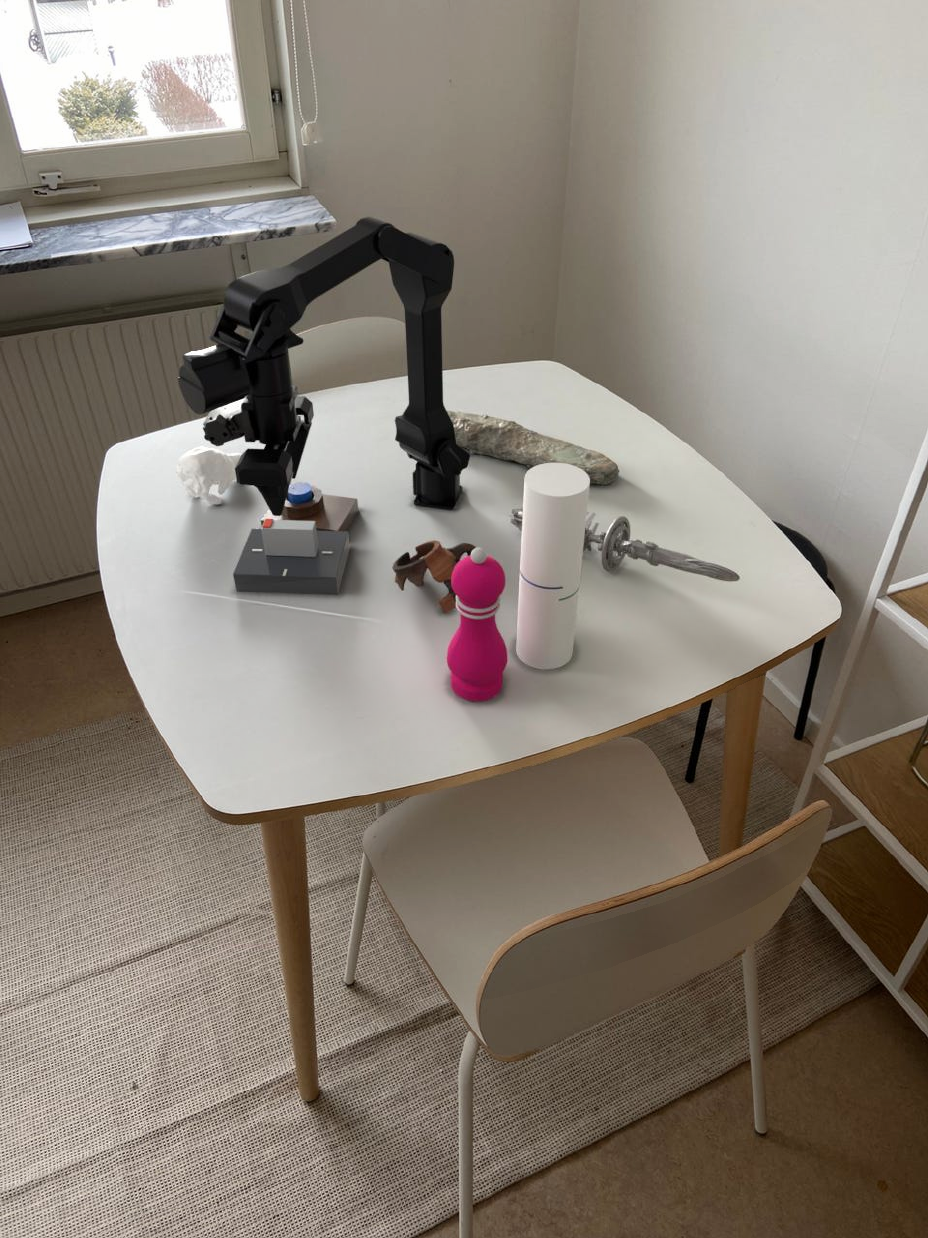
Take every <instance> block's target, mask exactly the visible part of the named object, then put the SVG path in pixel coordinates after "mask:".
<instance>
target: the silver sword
mask: <svg viewBox="0 0 928 1238" xmlns="http://www.w3.org/2000/svg"><path fill="white" fill-rule="evenodd" d="M511 514H512V515H508V517H510V518H511V519H510V523H511V524H512V525H513V526H515V527H516V528H517V529H518V530H519V531H521V532H522V519H523V506H522V507H521V508H520V507H519V508H513V509H511ZM589 514H590V511H588V510H587V515H586V517H587V516H588V515H589ZM596 515H597V513H596V512H592V513H591V514H590V516H589V517H588V518H586V525H585V535H584V545H583V553H584V552H585V551H586V550H587V551H588V552H592V550H593V549H592V542H593V543H595V544H597V550H598V551H600V552H601V565H602V568H603V569H604V570H605V571H606V572H608V573H611V572H614V571H616V570H617V569H618V568H619V566H620V565H621V564H622V562H623V560H624V558H625V557H626V555H627V557H628V558H631V559H633V560H635V561H636V560H638V559H640V560H644V561H646V562H647V563H648V564H649V565H650V566H654V567H658V566H659V565H661V566H666V567H669V568H671V569H675V570H679V571H683V572H686V573H691V574H695V575H700V576H703V577H704V576H705V577H708V578H710V579H713V580H716V581H717V580H718V581H722V582H738V581H740V579H741V577H740V575H739V574H738V573H737V572H735V570H734V571H733V570H732V569H731V568H728V567H726V566H723V565H720V564H717V563H712V562H709V561H708V562H707V561H705V560H701V559H699V558H697V557H694V556H692V555H689V554H687V553H686V554H685V553H681V552H678V551H675V550H671V549H667V548H663V547H659V545H658V544H657V543H654V542H652V541H645V543H644V542H643V541H642V540H640V539H635V540H631V523H630V521H629V518H627V517H626V516H624V515H621V516H618V517H617V518H615V519H614V520H613V521H612V523H611V524H610V526H609V528H608V529H607V531H606V532H605V531H601V532H600V533H599V534H596V532H597V529H598V527H599V525H600V522H595V523H594V525H592V522H593V520H594V518H595V517H596ZM591 526H592V528H591V529H590V527H591Z"/></svg>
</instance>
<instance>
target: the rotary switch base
mask: <svg viewBox="0 0 928 1238" xmlns="http://www.w3.org/2000/svg"><path fill="white" fill-rule="evenodd" d="M349 534H350V533H349V531H346V532H344V531H317V539H318V547H319V548H318V551H317V555H316V557H302V556H272V555H266V554H265V548H264V542H263V536H262V530H261V528H251V530H250V532H249V533H248V537H247V540H246V542H245V544H244V547H243V548H242V551H241V554H240V556H239V558H238V561H237V563H236V565H235V568H234V571H233V573H232V576H233V581H234V587H235V591H236V592H241V593H242V592H243V593H246V592H249V593H271V594H273V593H275V594H299V595H300V594H301V595H307V594H308V595H333V596H338V595H339V592H340V589H341V584H342V580H343V576H344V572H345V570H346V565H347V561H348V557H349V553H350V549H351V547H350V546H351V545H350V536H349Z"/></svg>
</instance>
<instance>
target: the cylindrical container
mask: <svg viewBox="0 0 928 1238" xmlns="http://www.w3.org/2000/svg"><path fill="white" fill-rule="evenodd" d="M523 479H524V480H523V499H522V500H523V501H522V507H523V519H522V531H521V541H520V544H521V545H520V558H519V559H520V560H519V561H520V562H519V563H520V564H519V580H518V581H519V583H518V586H519V587H518V600H517V601H518V604H517V620H516V621H517V623H516V624H517V625H516V644H515V650H516V652H515V653H516V655H517V657H518V658H519V660H520V661H521V662H522V663H523V664H525V665H526V666H529V667H531V668H534V669H538V670H555V669H559V668H561V667H563V666H565V665H566V664H568V663H569V662H570V660H571V659H572V657H573V654H574V653H573V652H574V642H575V633H576V622H577V612H578V603H579V593H580V583H581V573H582V563H583V555H584V552H583V545H584V535H585V525H586V521H587V516H588V515H587V511H588V506H589V505H588V504H589V496H590V495H589V493H590V486H591V485H590V484H591V483H590V478H589V476H588V474H587V473H586V472H585V471H583V470H582V469H580V468H578V467H576V466H573V465H570V464H565V463H544V464H540V465H537V466H535V467H533V468H529V469H528V470H527V471H526V473H525V475H524V477H523ZM586 515H587V516H586Z"/></svg>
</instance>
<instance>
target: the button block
mask: <svg viewBox="0 0 928 1238" xmlns="http://www.w3.org/2000/svg"><path fill="white" fill-rule="evenodd" d="M310 485H311V484H310ZM311 488H312V496H313V498H312V500H311V501H309V502H307V503H301V504H296V503H291V502H289V500H288V494H287V498H286V501H285V505H284V508H283V512H282V515H281V516H274V515H273V514H272V512H271V511H270V509H269V508H268V509H267V511H266V512H265V514H264V515H263V516H262V518H261V519H260V526H261V527H262V525H263V523H264V520H265V519H273V520H296V521H315V522H316V530H317V531H344V532H348V529H349V527H350V526H351V524H352V523H353V521H354V519H355V517H356V515H358V512H359V503H358V502H359V501H358V498H356V497H347V496H341V495H340V496H339V495H332V494H325V493H322V490H321V489H320V488H318V487H316V486H314V485H313V484H312V485H311Z"/></svg>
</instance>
